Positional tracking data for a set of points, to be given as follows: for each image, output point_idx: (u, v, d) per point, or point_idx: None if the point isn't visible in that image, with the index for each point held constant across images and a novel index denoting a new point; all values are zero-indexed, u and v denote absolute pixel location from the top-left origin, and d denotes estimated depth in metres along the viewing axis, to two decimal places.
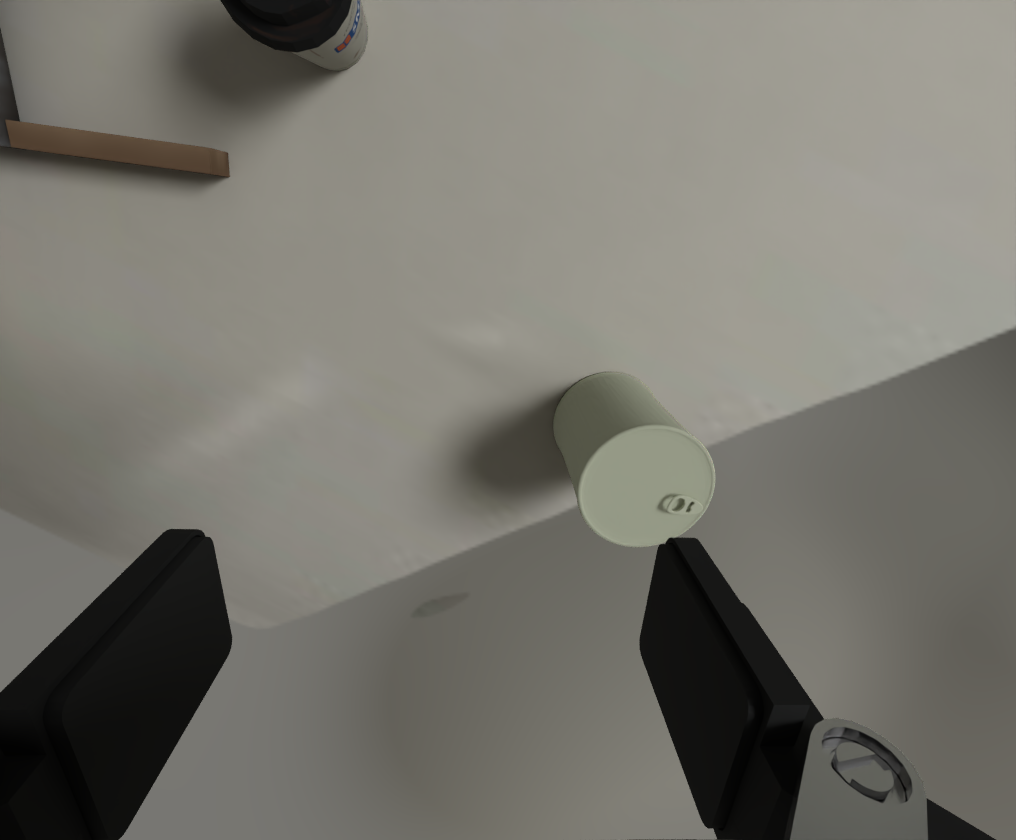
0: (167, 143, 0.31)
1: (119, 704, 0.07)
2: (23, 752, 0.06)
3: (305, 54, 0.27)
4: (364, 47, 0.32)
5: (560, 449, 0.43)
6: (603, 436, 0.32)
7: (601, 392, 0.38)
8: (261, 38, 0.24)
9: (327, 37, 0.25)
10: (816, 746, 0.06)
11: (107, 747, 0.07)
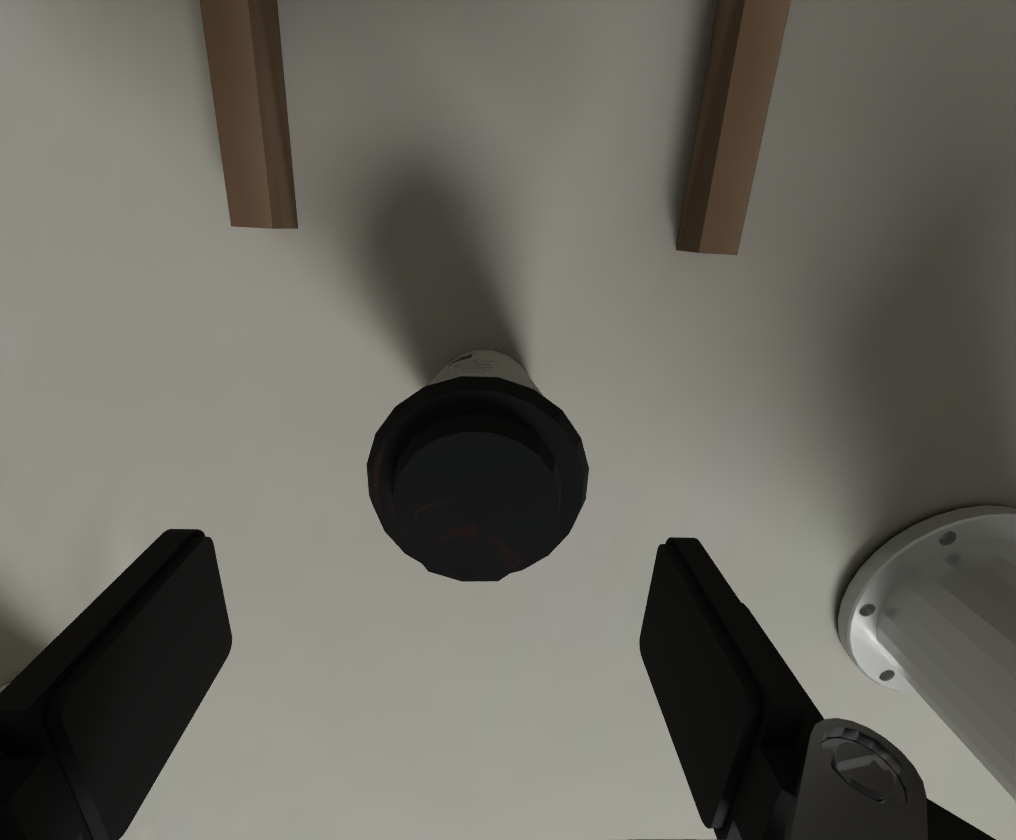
0: (261, 151, 0.17)
1: (119, 704, 0.07)
2: (23, 752, 0.06)
3: None
4: None
5: None
6: None
7: None
8: (373, 454, 0.15)
9: None
10: (816, 746, 0.06)
11: (107, 747, 0.07)
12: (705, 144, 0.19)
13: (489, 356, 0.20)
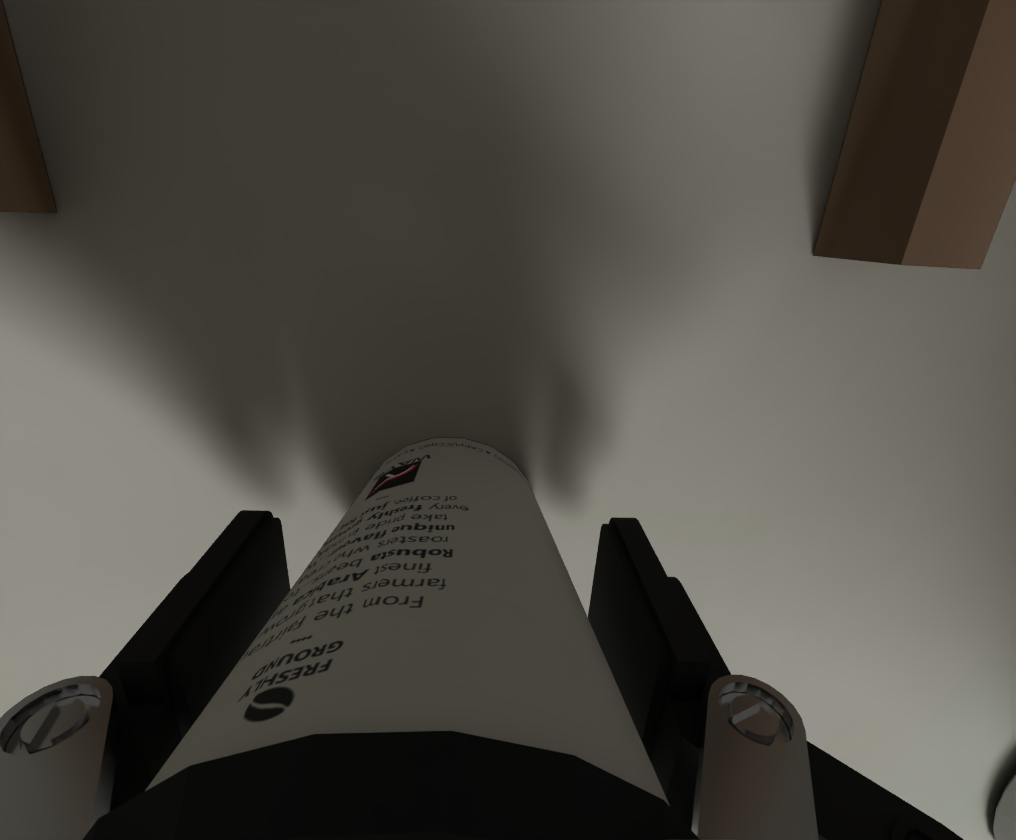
0: None
1: (217, 664, 0.08)
2: (146, 701, 0.07)
3: None
4: None
5: None
6: None
7: None
8: None
9: None
10: (713, 698, 0.07)
11: None
12: (923, 26, 0.08)
13: (452, 475, 0.10)
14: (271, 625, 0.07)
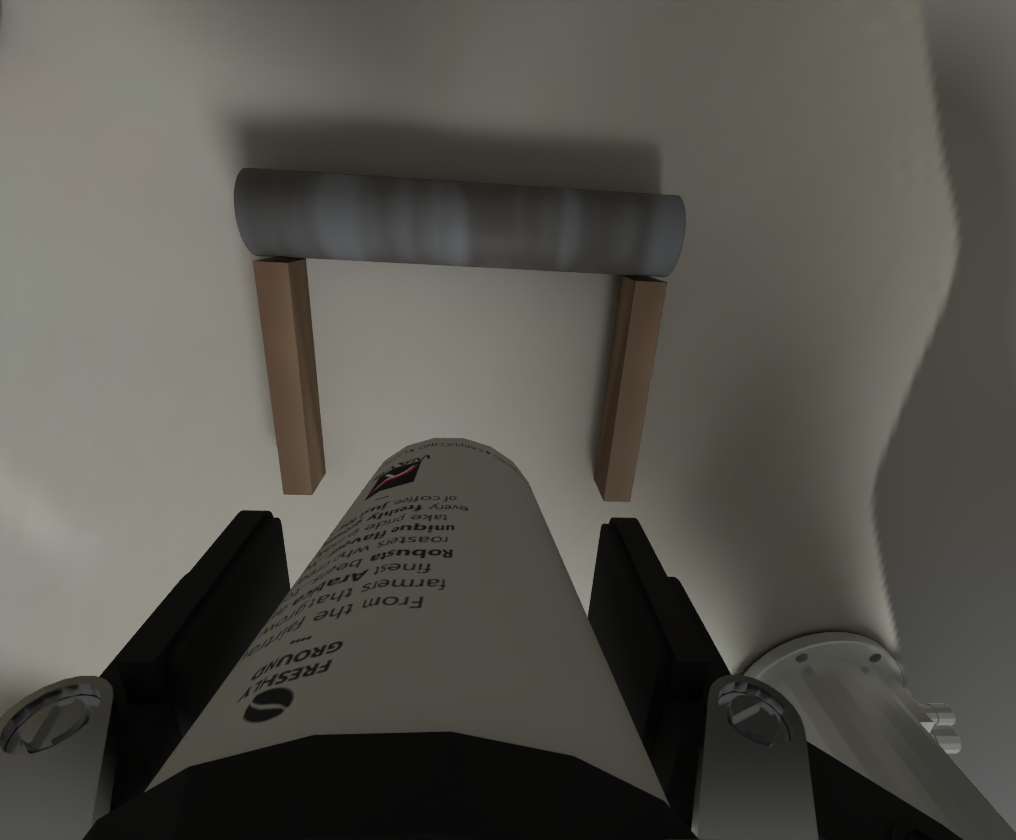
0: (306, 452, 0.26)
1: (217, 664, 0.08)
2: (147, 701, 0.07)
3: None
4: None
5: None
6: None
7: None
8: None
9: None
10: (713, 698, 0.07)
11: None
12: (607, 430, 0.27)
13: (452, 475, 0.10)
14: (271, 626, 0.07)
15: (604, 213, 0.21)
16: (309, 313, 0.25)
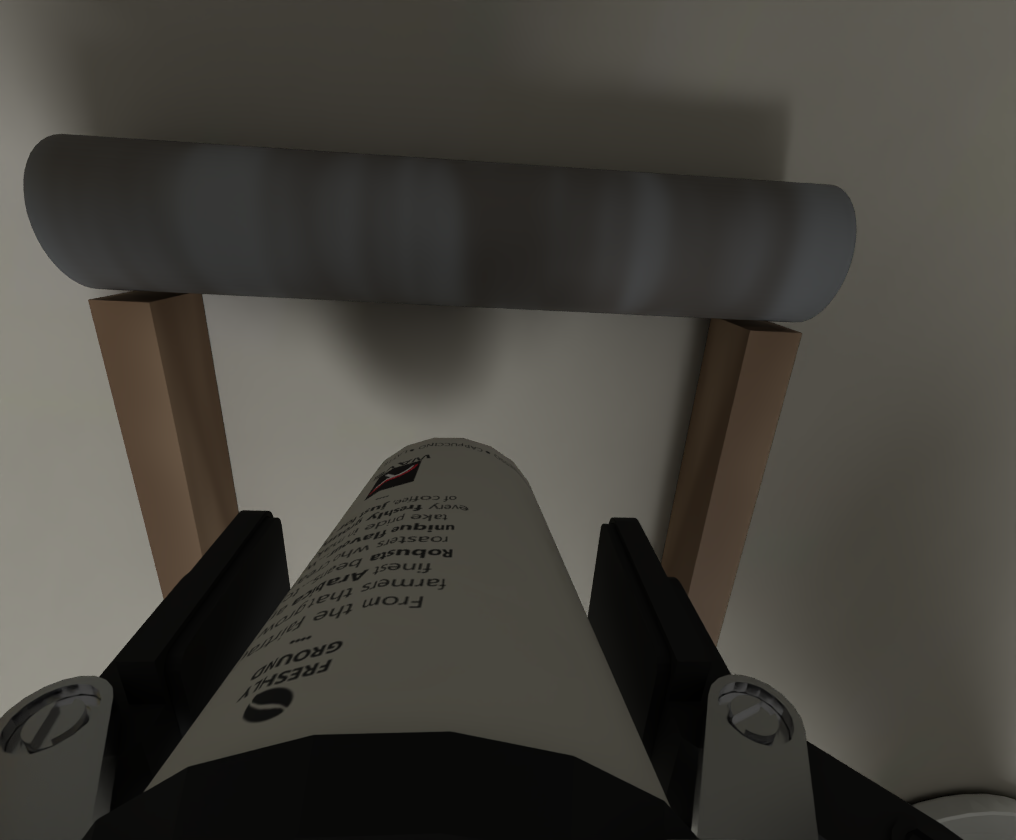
0: None
1: (217, 664, 0.08)
2: (146, 701, 0.07)
3: None
4: None
5: None
6: None
7: None
8: None
9: None
10: (713, 697, 0.07)
11: None
12: (680, 549, 0.18)
13: (452, 475, 0.10)
14: (270, 625, 0.07)
15: (712, 216, 0.12)
16: (212, 376, 0.16)
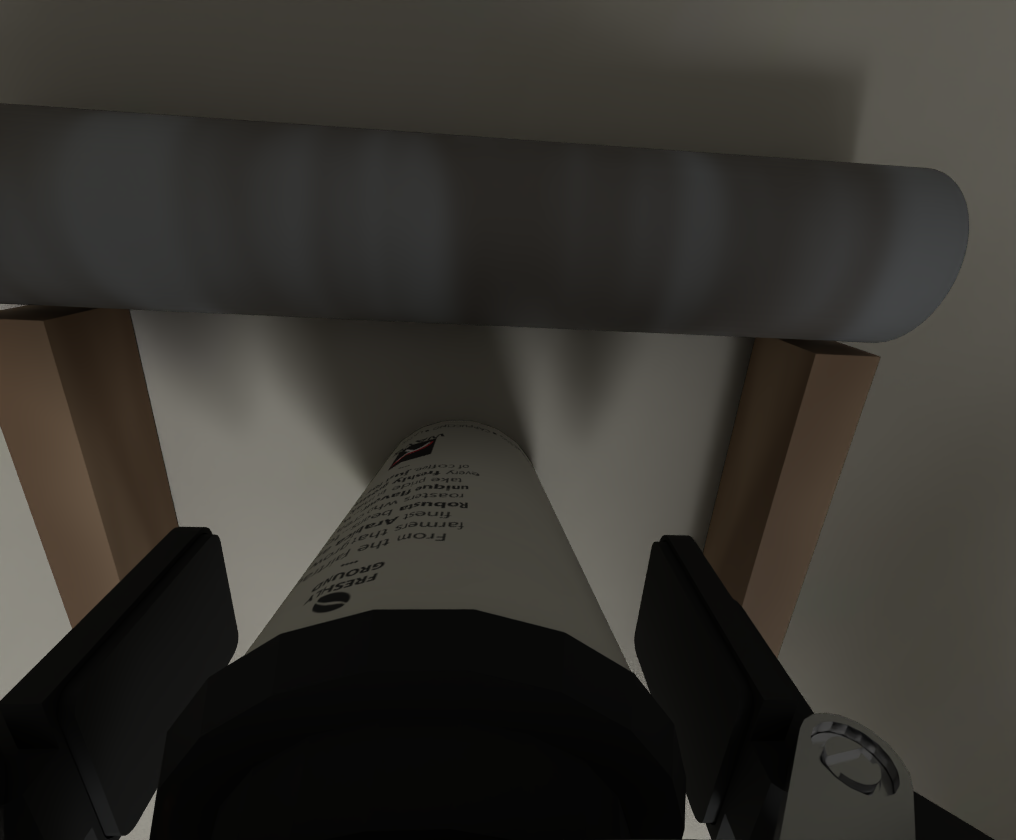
0: None
1: (129, 699, 0.07)
2: (36, 746, 0.06)
3: None
4: None
5: None
6: None
7: None
8: None
9: None
10: (805, 740, 0.06)
11: (118, 741, 0.07)
12: None
13: (464, 449, 0.11)
14: (319, 560, 0.08)
15: (781, 208, 0.09)
16: (145, 406, 0.13)
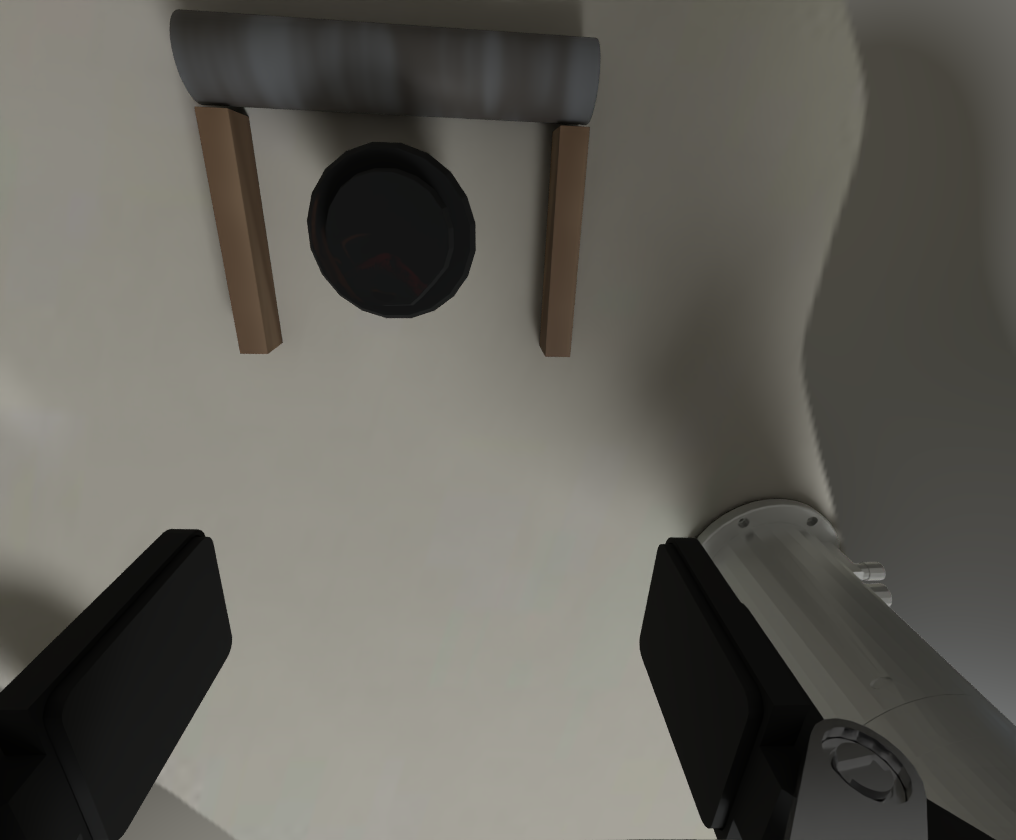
0: (259, 309, 0.27)
1: (119, 704, 0.07)
2: (23, 752, 0.06)
3: None
4: None
5: None
6: None
7: None
8: (310, 207, 0.20)
9: (333, 287, 0.21)
10: (816, 746, 0.06)
11: (107, 747, 0.07)
12: (546, 288, 0.29)
13: None
14: None
15: (524, 49, 0.23)
16: (255, 173, 0.27)
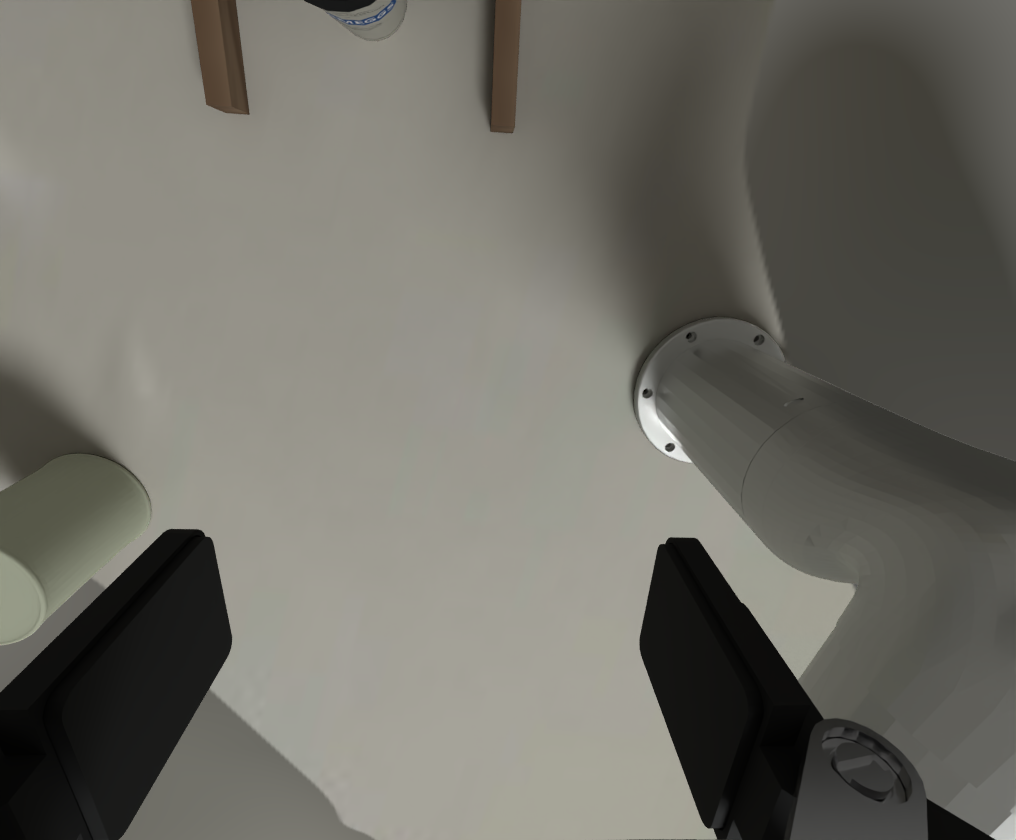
0: (223, 57, 0.29)
1: (119, 704, 0.07)
2: (23, 752, 0.06)
3: None
4: (356, 35, 0.31)
5: (44, 465, 0.41)
6: (13, 543, 0.32)
7: (106, 504, 0.39)
8: None
9: None
10: (816, 746, 0.06)
11: (107, 747, 0.07)
12: (493, 59, 0.31)
13: None
14: None
15: None
16: None
